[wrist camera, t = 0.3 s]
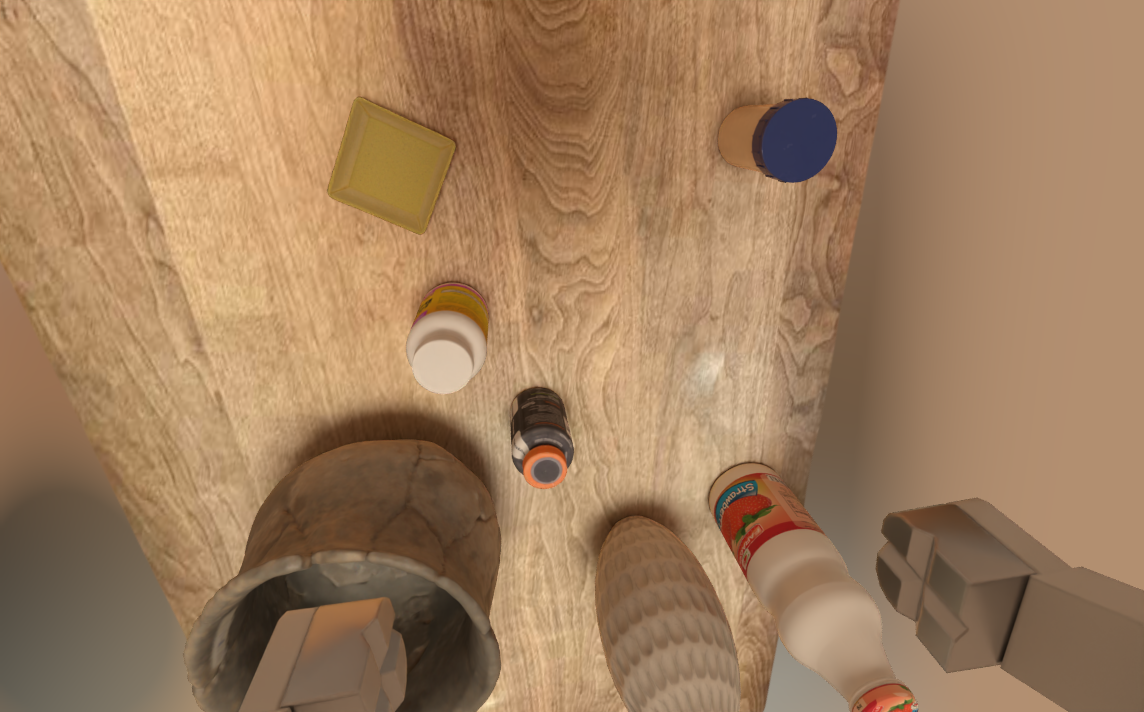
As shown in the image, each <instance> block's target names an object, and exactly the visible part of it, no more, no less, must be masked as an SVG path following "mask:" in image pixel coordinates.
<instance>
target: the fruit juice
mask: <svg viewBox="0 0 1144 712" xmlns="http://www.w3.org/2000/svg"><path fill="white" fill-rule="evenodd" d="M709 506H710V510H711V513H712V516H713V517H714V519H715V521H716V523H717V525H718V527H719V529H720V531H721V532H722V534H723V536H724V538H725V540H726V542H727V544H728V546H729V547H730V549H731V551H732V553H733V555H734V557H735V559H736V560H737V562H738V564H739V566H740V568H741V570H742V572H743V573H744V575H745V577H746V579H747V581H748V583H749V585H750V587H751V589H752V591H753V592H754V594H755V596H756V597H757V599H758V600H759V602H760V603H761V605H762V606H763V607H764V609H765V610H766V611H767V612H768V613H770V614H771V615H772V616H773V617H774V619H775V624H776V628H777V632H778V635H779V637H780V639H781V641H782V643H783V645H784V646H785V648H786V649H787V651H788V652H789V653H790V654H791V656H792V657H793V658H794V659H795V660H797V661H798V662H799V663H801V664H802V665H804V666H806V667H808V668H809V669H811V670H813V671H814V672H816V673H817V674H819V675H820V676H821V677H822V678H824V679H825V680H826V681H827V682H828V683H829V684H830V685H831V686H832V687H833V688H834V689H836V690H837V691H838V692H839V693H840V694H841V695H842V696H843V697H844V698H845V699H846V700H847V702H848V703H849V711H850V712H918V704H917V702H916V699H915V697H914V696H913V694H912V693H911V691H910V690H909V688H907V687H906V685H905V684H904V683H903V682H902V681H900V680H899V679H896V677H895V675H894V673H893V671H892V669H891V666H890V664H889V661H888V658H887V655H886V653H885V650H884V647H883V643H882V638H881V637H882V620H881V615H880V612H879V609H878V607H877V605H876V603H875V601H874V600H873V598H872V597H871V595H870V594H869V593H868V591H867V590H866V589H865V588H864V587H863V586H861V585H860V584H859V583H858V582H857V581H855V580H854V579H853V578H851V577H850V576H849V574H848V569H847V567H846V564H845V562H844V560H843V558H842V557H841V555H840V554H839V552H838V551H837V549H836V548H835V546H834V545H833V544H832V542H831V541H830V540H829V539H828V537H827V536H826V535H825V534H824V532H823V531H822V530H821V529H820V527H819V526H818V525H817V523H816V522H815V521H814V520H813V518H812V517H811V516H810V515H809V513H808V512H807V511H806V509H805V508H804V507H803V505H802V504H801V503H800V502H799V500H798V499H797V498H796V496H795V495H794V494H793V493H792V491H791V490H790V489H789V487H788V486H787V485H786V484H785V482H784V481H783V480H782V479H781V477H780V476H779V475H778V474H777V473H776V472H775V471H773V470H772V469H771V468H769V467H767V466H764V465H761V464H756V463H748V464H742V465H738V466H736V467H733V468H731V469H729V470H728V471H726V472H725V473H724V474H722V475H721V476H720V477H719V478H718V479H717V481H716V482H715V483H714V485H713V487H712V489H711V492H710V496H709Z"/></svg>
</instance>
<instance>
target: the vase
mask: <svg viewBox="0 0 1144 712" xmlns="http://www.w3.org/2000/svg"><path fill="white" fill-rule="evenodd" d="M595 605H596V614H597V622H598V627H599V632H600V637H601V642H602V646H603V650H604V654H605V658H606V662H607V666H608V669H609V671H610V674H611V677H612V679H613V682H614V684H615V687H616V689H617V691H618V693H619V695H620V697H621V699H622V701H623V703H624V705H625V707H626V709H627V710H628V712H739V710H740V696H741V688H740V673H739V664H738V658H737V652H736V647H735V643H734V640H733V636H732V632H731V629H730V626H729V623H728V620H727V618H726V615H725V612H724V610H723V607H722V605H721V602H720V600H719V598H718V596H717V594H716V591H715V589H714V587H713V585H712V583H711V582H710V580H709V578H708V576H707V574H706V572H705V571H704V569H703V567H702V566H701V564H700V563H699V561H698V560H697V559H696V557H695V556H694V554H693V553H692V552H691V550H690V549H689V548H688V547H687V546H686V545H685V544H684V543H683V542H682V541H681V540H680V539H679V538H678V537H677V536H676V535H675V534H674V533H673V532H671V531H670V530H669V529H668V528H666V527H665V526H663V525H661V524H659V523H657V522H656V521H654V520H651V519H649V518H647V517H644V516H629V517H626V518H623V519H622V520H620V521H618V522H617V523H616V524H615V525H614V526H613V527H612V529H611V531H610V532H609V534H608V536H607V537H606V539H605V541H604V543H603V545H602V548H601V551H600V555H599V558H598V563H597V570H596V577H595Z"/></svg>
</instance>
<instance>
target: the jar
mask: <svg viewBox="0 0 1144 712" xmlns="http://www.w3.org/2000/svg"><path fill="white" fill-rule="evenodd" d="M774 105H776V104H762V105H745V106H741V107H739V108H736V109H735V110H733V111H732V112H731V113H730V114H729V115H728V116H727V117H726V118H725V119H724V121H723V123H722V125H721V127H720V130H719V134H718V147H719V151H720V153H721V155H722V157H723V158H724V159H725V161H727V162H728V163H729V164H731V165H733V166H735V167H739V168H744V169H748V170H753V171H758V172H761V171H760V169H759V168H758V167H756V163H755V161H754V158H753V154H752V153H751V151H752V138H753V137H752V135H753V134H754V131H755V128H756V126H757V124H758V122H759V121H758V120H759V119H761V117H762V116H763V115H764V114H765V113H766V112H767V111H768V110H769V109H770V107H772V106H774Z"/></svg>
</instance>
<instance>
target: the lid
mask: <svg viewBox="0 0 1144 712" xmlns="http://www.w3.org/2000/svg"><path fill="white" fill-rule="evenodd" d="M758 121H759V122H758V124H757V126H756V128H755V131H754V134H753V135H752V137H753V138H752V151H751V153H752V154H753V158H754V161H755V163H756V167H758V168H759V169H760V171H761V172H762V173H763V174H765V176H766V177H770V178H772V179H776V180H778V181H780V182H784V183H786V182H790V183H794V182H801V181H804V180H807V179H809V178H811V177H813V176H814V175H816V174H817V173H818V172H819V171H821V170H822V169H823V168H824V166H825V165H826V164H827V162H828V161H829V159H830V158H831V156H832V154H833V151H834V148H835V145H836V140H837V127H836V122H835V119H834V117H833V115H832V113H831V111H830V110H829V109H828V108H827V107H826V106H825V105H824V104H823V103H821V102H819V101H817V100H814V99H808V98H799V99H784V101H782V102H779V103H777V104H776V105H774V106H772V107H770V109H769V110H768V111H767V112H766V113H765V114H764V115H763V116H762V117H761V119H759V120H758Z"/></svg>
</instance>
